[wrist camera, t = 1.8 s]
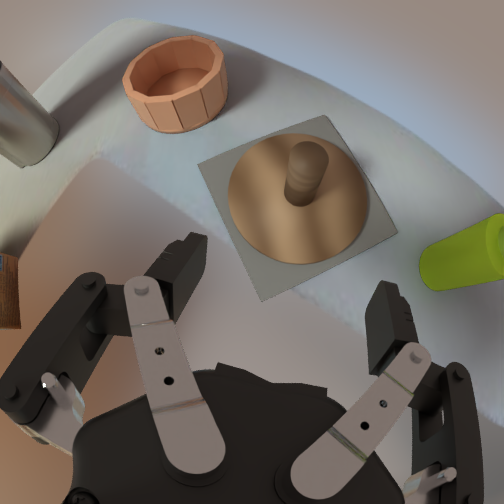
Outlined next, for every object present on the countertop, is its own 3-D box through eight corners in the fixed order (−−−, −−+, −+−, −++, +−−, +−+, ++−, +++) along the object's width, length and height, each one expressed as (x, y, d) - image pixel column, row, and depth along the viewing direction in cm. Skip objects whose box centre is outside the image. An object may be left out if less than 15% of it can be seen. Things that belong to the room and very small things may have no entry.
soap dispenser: (414, 237, 33) (526, 170, 13) (456, 250, 32) (569, 201, 13) (408, 284, 32) (534, 249, 12) (452, 295, 31) (575, 271, 12)
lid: (265, 289, 32) (267, 280, 23) (207, 167, 35) (192, 125, 26) (387, 228, 33) (422, 202, 24) (322, 122, 36) (335, 76, 27)
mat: (261, 302, 32) (261, 302, 32) (198, 165, 35) (197, 164, 35) (396, 233, 33) (397, 232, 33) (324, 116, 36) (324, 114, 36)
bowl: (152, 149, 36) (134, 119, 29) (132, 90, 39) (116, 61, 32) (242, 109, 37) (238, 75, 30) (209, 58, 40) (202, 26, 33)
